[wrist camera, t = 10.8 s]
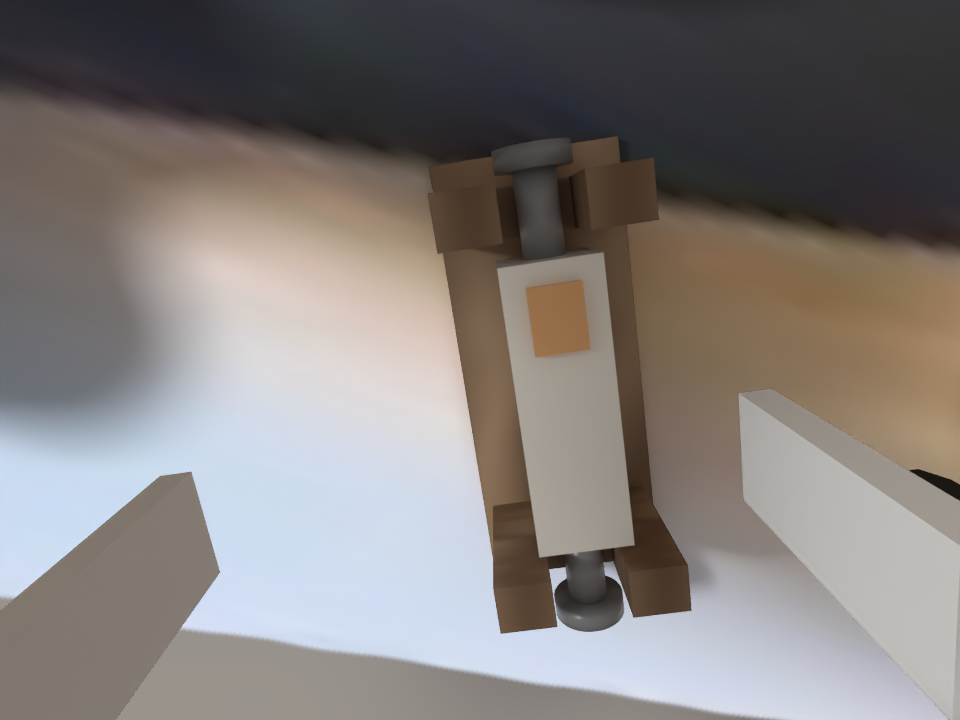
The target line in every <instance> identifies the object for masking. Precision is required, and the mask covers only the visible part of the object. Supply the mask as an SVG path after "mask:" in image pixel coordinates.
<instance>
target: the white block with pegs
mask: <svg viewBox="0 0 960 720" xmlns="http://www.w3.org/2000/svg"><path fill="white" fill-rule="evenodd" d="M491 155H492V162H493V169H494V175H495V176H504V175H512V178H513V185H514V193H515V200H516V207H517V215H518V222H519V229H520V237H521V244H522V251H523V256H520V257H513V258H507V259H500V260H496V265H497V272H498V279H499V286H500V293H501V300H502V306H503V313H504V320H505V327H506V334H507V340H508V347H509V354H510V361H511V368H512V375H513V381H514V388H515V395H516V402H517V409H518V415H519V422H520V429H521V436H522V443H523V450H524V456H525V463H526V470H527V477H528V484H529V490H530V497H531V504H532V511H533V518H534V525H535V531H536V538H537V545H538V552H539V558H540V557H547V556H555V555H563V554H564V560H565V567H566V574H567V579H565V580H564V581H562V582H561V583H560V584H559V585H558V586H557V588H556V590H555V594H554V596H555V604H556V611H557V616H558V618H559V619H560V621H561V622H562V623H563V624H565V625H566V626H568V627H569V628H572V629H575V630H578V631H585V632H593V631H600V630H604V629H607V628H609V627H611V626H613V625H615V624H616V623H617V622H618V621H619V620H620V619H621V618H622V616H623V614H624V603H623V595H622V589H621V587H620V585H619V584H618V583H617V582H616V581H615V580H614V579H612V578H610V577H608V576H605V573H604V564H603V556H602V549H609V548H617V547H625V546H632V545H635V544H634V534H633V525H632V516H631V506H630V497H629V487H628V478H627V469H626V459H625V450H624V440H623V431H622V422H621V412H620V403H619V393H618V384H617V375H616V365H615V356H614V346H613V337H612V328H611V318H610V309H609V299H608V290H607V281H606V271H605V262H604V253H603V252H601V251H597V250H594V249H590V248H587V247H578V248H571V249H566V248H565V240H564V232H563V223H562V215H561V207H560V199H559V190H558V182H557V174H556V167H560V166H564V165H568V164H571V163H573V155H572V147H571V139H570V138H552V139H544V140H537V141H531V142H525V143H520V144H515V145H511V146H507V147H503V148H499V149H496V150H494V151H492V152H491Z"/></svg>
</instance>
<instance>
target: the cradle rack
mask: <svg viewBox="0 0 960 720" xmlns="http://www.w3.org/2000/svg"><path fill="white" fill-rule="evenodd" d="M571 147H572V155H573V163H571V164H568V165H564V166H560V167H556V174H557V182H558V190H559V199H560V207H561V215H562V223H563V232H564V240H565V248H566V249H571V248H578V247H587V248H590V249H594V250H597V251H601V252H603V253H604V262H605V271H606V281H607V290H608V299H609V309H610V318H611V328H612V337H613V346H614V356H615V365H616V375H617V384H618V393H619V403H620V412H621V422H622V431H623V440H624V450H625V459H626V469H627V478H628V487H629V497H630V506H631V516H632V525H633V534H634V544H635V545H632V546H625V547H617V548H609V549H602V556H603V562H610V561H614V564H615V567H616V570H617V572H618V575H619V578H620V581H621V584H622V586H623V589H624V592H625V595H626V598H627V600H628V603H629V606H630V609H631V612H632V614H633V617H643V616H651V615H659V614H667V613H676V612H684V611H692V610H691V598H690V586H689V574H688V565H687V563H686V561H685V559H684V558H683V556H682V554H681V552H680V551H679V549H678V547H677V545H676V544H675V542H674V540H673V538H672V537H671V535H670V533H669V531H668V529H667V528H666V526H665V524H664V522H663V521H662V519H661V517H660V515H659V514H658V512H657V510H656V508H655V507H654V505H653V499H652V488H651V478H650V468H649V457H648V447H647V436H646V426H645V415H644V405H643V394H642V384H641V373H640V363H639V352H638V342H637V331H636V321H635V310H634V300H633V289H632V279H631V268H630V258H629V247H628V237H627V226H626V225H627V224H634V223H640V222H647V221H653V220H659V214H658V202H657V190H656V178H655V166H654V157H653V158H647V159H641V160H634V161H628V162H622V163H620V153H619V143H618V136H615V137H609V138H602V139H596V140H590V141H584V142H578V143H572V144H571ZM429 171H430V177H431V183H432V189H433V193H428V198H429V204H430V210H431V216H432V222H433V228H434V234H435V240H436V246H437V252H438V254H439V253H443V256H444V262H445V268H446V274H447V281H448V287H449V293H450V299H451V305H452V311H453V317H454V323H455V329H456V335H457V342H458V348H459V354H460V360H461V366H462V372H463V378H464V384H465V390H466V396H467V402H468V409H469V415H470V421H471V427H472V433H473V439H474V445H475V451H476V457H477V463H478V469H479V476H480V482H481V488H482V494H483V500H484V506H485V512H486V518H487V524H488V530H489V536H490V543H491V549H492V555H493V590H494V596H495V602H496V608H497V614H498V620H499V626H500V632H501V634H502V633H510V632H519V631H527V630H535V629H543V628H552V627H557V620H556V613H555V606H554V599H553V592H552V585H551V579H550V573H549V569H554V568H562V567H565V560H564V554H563V555H555V556H547V557H540V558H539V552H538V545H537V538H536V531H535V525H534V518H533V511H532V504H531V497H530V490H529V484H528V477H527V470H526V463H525V456H524V450H523V443H522V436H521V429H520V422H519V415H518V409H517V402H516V395H515V388H514V381H513V375H512V368H511V361H510V354H509V347H508V340H507V334H506V327H505V320H504V313H503V306H502V300H501V293H500V286H499V279H498V272H497V265H496V260H500V259H507V258H513V257H520V256H523V251H522V244H521V237H520V229H519V222H518V215H517V207H516V200H515V193H514V185H513V178H512V175H504V176H495V175H494V169H493V162H492V156H491V157H485V158H479V159H473V160H467V161H461V162H454V163H448V164H442V165H436V166H430V167H429Z"/></svg>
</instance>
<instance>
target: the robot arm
mask: <svg viewBox="0 0 960 720" xmlns="http://www.w3.org/2000/svg"><path fill="white" fill-rule="evenodd" d="M739 414H740V435H741V456H742V477H743V498H744V501H745V502H746V503H747V504H748V505H749V506H750V507H751V508H752V509H753V510H754V512H755V513H756V514H757V515H758V516H759V517H760V518H761V519H762V520H763V521H764V522H765V523H766V524H767V525H768V527H769V528H770V529H771V530H772V531H773V532H774V533H775V534H776V535H777V536H778V537H779V538H780V539H781V541H782V542H783V543H784V544H785V545H786V546H787V547H788V548H789V549H790V550H791V551H792V552H793V553H794V554H795V556H796V557H797V558H798V559H799V560H800V561H801V562H802V563H803V564H804V565H805V566H806V567H807V568H808V569H809V571H810V572H811V573H812V574H813V575H814V576H815V577H816V578H817V579H818V580H819V581H820V582H821V583H822V584H823V586H824V587H825V588H826V589H827V590H828V591H829V592H830V593H831V594H832V595H833V596H834V597H835V598H836V599H837V601H838V602H839V603H840V604H841V605H842V606H843V607H844V608H845V609H846V610H847V611H848V612H849V613H850V615H851V616H852V617H853V618H854V619H855V620H856V621H857V622H858V623H859V624H860V625H861V626H862V627H863V628H864V630H865V631H866V632H867V633H868V634H869V635H870V636H871V637H872V638H873V639H874V640H875V641H876V642H877V643H878V645H879V646H880V647H881V648H882V649H883V650H884V651H885V652H886V653H887V654H888V655H889V656H890V657H891V658H892V660H893V661H894V662H895V663H896V664H897V665H898V666H899V667H900V668H901V669H902V670H903V671H904V672H905V673H906V675H907V676H908V677H909V678H910V679H911V680H912V681H913V682H914V683H915V684H916V685H917V686H918V687H919V689H920V690H921V691H922V692H923V693H924V694H925V695H926V696H927V697H928V698H929V699H930V700H931V701H932V702H933V704H934V705H935V706H936V707H937V708H938V709H939V710H940V711H941V712H942V713H943V714H944V715H945V716H946V717H947V719H948V720H960V484H958V483H956V482H954V481H952V480H950V479H947V478H944V477H941V476H938V475H935V474H932V473H928V472H925V471H922V470H919V469H916V470H907V469H905V468H904V467H902V466H900V465H898V464H897V463H895V462H893V461H892V460H890V459H888V458H887V457H885V456H883V455H882V454H880V453H878V452H877V451H875V450H873V449H872V448H870V447H868V446H867V445H865V444H863V443H862V442H860V441H858V440H857V439H855V438H853V437H852V436H850V435H848V434H847V433H845V432H843V431H842V430H840V429H838V428H837V427H835V426H833V425H831V424H830V423H828V422H826V421H825V420H823V419H821V418H820V417H818V416H816V415H815V414H813V413H811V412H810V411H808V410H806V409H805V408H803V407H801V406H800V405H798V404H796V403H795V402H793V401H791V400H790V399H788V398H786V397H785V396H783V395H781V394H780V393H778V392H776V391H775V390H773V389H765V390H758V391H751V392H744V393H739ZM219 573H220V571H219V567H218V564H217V560H216V557H215V553H214V550H213V546H212V543H211V539H210V536H209V532H208V529H207V525H206V522H205V518H204V515H203V511H202V508H201V504H200V501H199V497H198V494H197V490H196V487H195V483H194V480H193V476H192V473H191V472H186V473H179V474H172V475H165V476H160V477H159V478H157V479H156V480H155V481H154V482H153V483H151V484H150V485H149V486H148V487H147V488H145V489H144V490H143V491H142V492H141V493H140V494H138V495H137V496H136V497H135V498H134V499H132V500H131V501H130V502H129V503H128V504H126V505H125V506H124V507H123V508H122V509H121V510H119V511H118V512H117V513H116V514H115V515H113V516H112V517H111V518H110V519H109V520H107V521H106V522H105V523H104V524H103V525H102V526H100V527H99V528H98V529H97V530H96V531H94V532H93V533H92V534H91V535H90V536H88V537H87V538H86V539H85V540H84V541H82V542H81V543H80V544H79V545H78V546H77V547H75V548H74V549H73V550H72V551H71V552H69V553H68V554H67V555H66V556H65V557H63V558H62V559H61V560H60V561H59V562H58V563H56V564H55V565H54V566H53V567H52V568H50V569H49V570H48V571H47V572H46V573H44V574H43V575H42V576H41V577H40V578H39V579H37V580H36V581H35V582H34V583H33V584H31V585H30V586H29V587H28V588H27V589H25V590H24V591H23V592H22V593H21V594H19V595H18V596H17V597H16V598H15V599H14V600H12V601H11V602H10V603H9V604H8V605H6V606H5V607H4V608H3V609H2V610H1V611H0V720H116V719H117V718H118V716H119V715H120V713H121V712H122V710H123V709H124V708H125V706H126V705H127V703H128V702H129V701H130V699H131V698H132V696H133V695H134V693H135V692H136V691H137V689H138V688H139V686H140V685H141V684H142V682H143V681H144V679H145V678H146V676H147V675H148V674H149V672H150V671H151V669H152V668H153V667H154V665H155V664H156V662H157V661H158V659H159V658H160V657H161V655H162V654H163V652H164V651H165V650H166V648H167V647H168V645H169V644H170V642H171V641H172V639H173V638H174V637H175V635H176V634H177V633H178V631H179V630H180V628H181V627H182V625H183V624H184V623H185V621H186V620H187V618H188V617H189V616H190V614H191V613H192V611H193V610H194V608H195V607H196V606H197V604H198V603H199V601H200V600H201V599H202V597H203V596H204V594H205V593H206V591H207V590H208V589H209V587H210V586H211V584H212V583H213V582H214V580H215V579H216V577H217V576H218V574H219Z"/></svg>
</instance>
